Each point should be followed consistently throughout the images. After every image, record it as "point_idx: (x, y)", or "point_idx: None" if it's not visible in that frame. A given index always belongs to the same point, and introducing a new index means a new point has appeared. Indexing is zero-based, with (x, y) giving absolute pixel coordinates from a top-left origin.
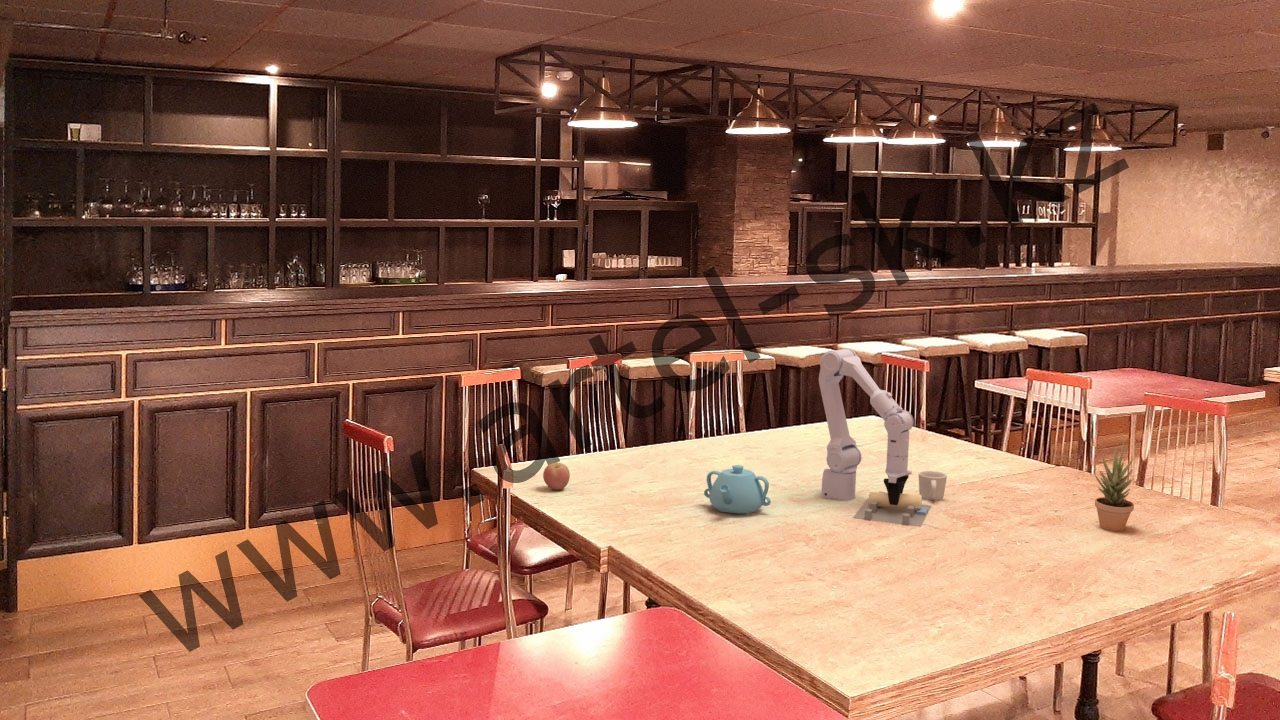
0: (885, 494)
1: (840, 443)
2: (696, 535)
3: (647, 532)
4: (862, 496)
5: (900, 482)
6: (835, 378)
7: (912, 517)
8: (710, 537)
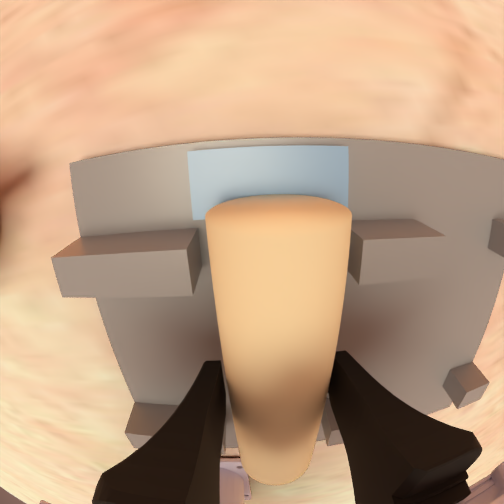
0: (300, 446)
1: None
2: (489, 463)
3: (472, 483)
4: (110, 441)
5: (457, 469)
6: None
7: (416, 219)
8: (498, 453)
